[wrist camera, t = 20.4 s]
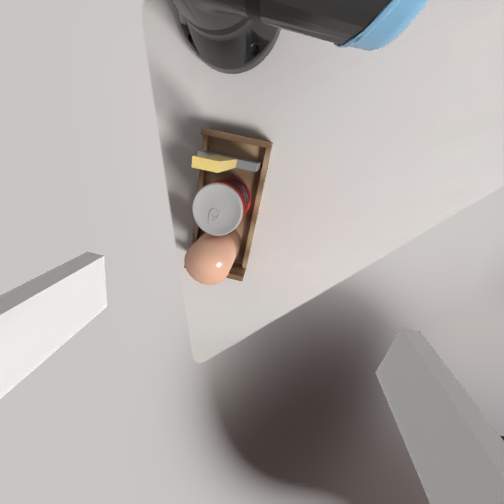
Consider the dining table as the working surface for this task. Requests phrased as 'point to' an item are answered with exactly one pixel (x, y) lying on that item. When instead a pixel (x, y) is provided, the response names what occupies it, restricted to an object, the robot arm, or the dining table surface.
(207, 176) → the brown wooden tray
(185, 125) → the dining table surface
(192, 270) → the peach rounded capsule
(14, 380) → the robot arm
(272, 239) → the dining table surface
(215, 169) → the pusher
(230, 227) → the canned food
